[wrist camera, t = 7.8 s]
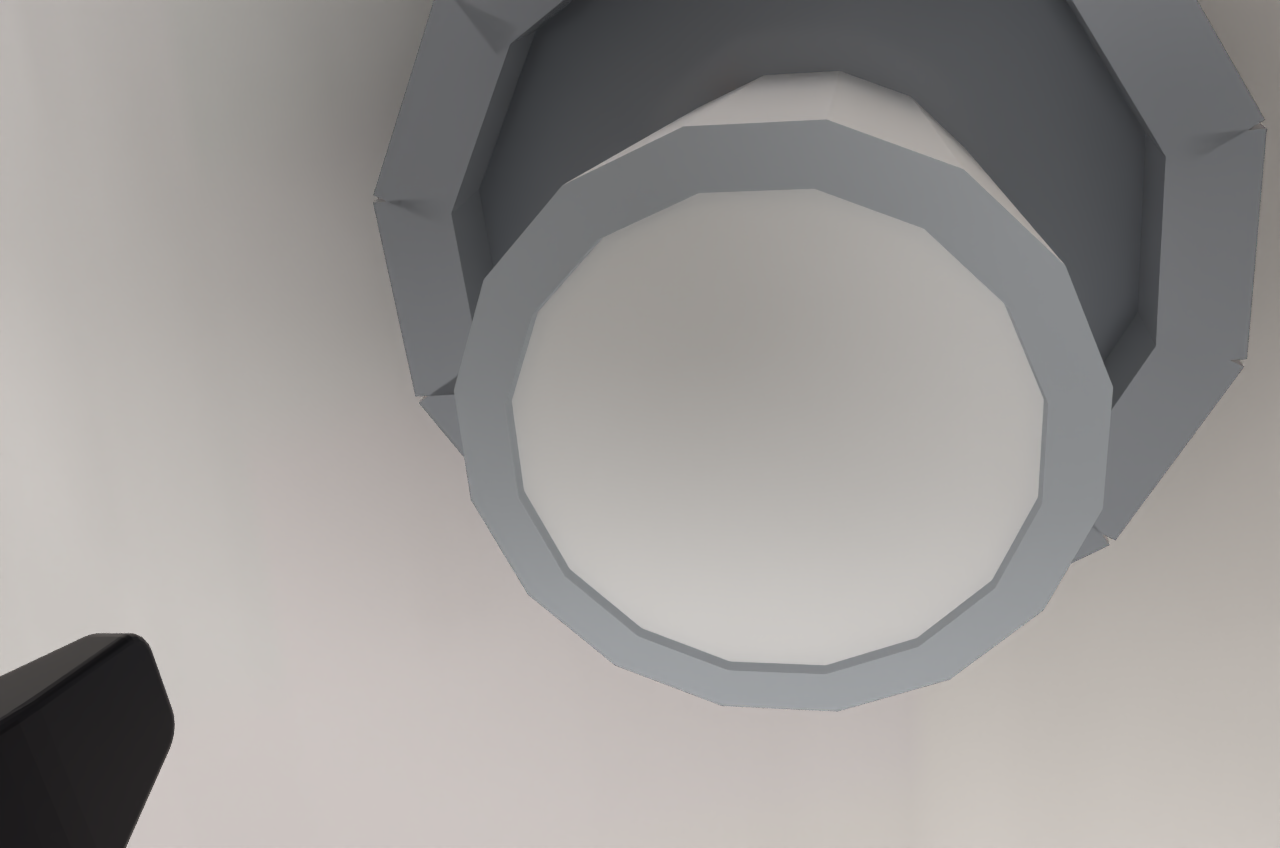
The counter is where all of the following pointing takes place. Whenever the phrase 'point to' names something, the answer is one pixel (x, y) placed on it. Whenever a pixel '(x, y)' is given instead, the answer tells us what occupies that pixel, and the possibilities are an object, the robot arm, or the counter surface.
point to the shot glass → (786, 402)
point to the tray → (909, 64)
